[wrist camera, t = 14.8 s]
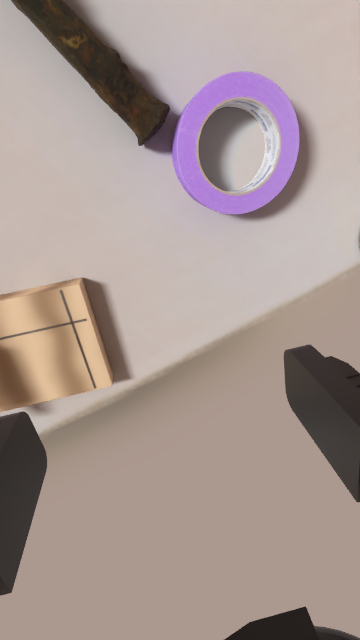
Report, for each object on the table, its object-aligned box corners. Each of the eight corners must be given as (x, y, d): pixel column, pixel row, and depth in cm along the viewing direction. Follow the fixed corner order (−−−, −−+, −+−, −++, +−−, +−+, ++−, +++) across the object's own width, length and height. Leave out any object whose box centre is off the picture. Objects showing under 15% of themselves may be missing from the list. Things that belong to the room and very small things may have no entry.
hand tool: (170, 117, 32) (176, 107, 28) (141, 149, 32) (143, 144, 28) (-7, -96, 25) (-35, -153, 21) (-38, -49, 25) (-72, -95, 21)
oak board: (82, 277, 36) (78, 284, 34) (113, 374, 42) (112, 385, 39) (-103, 317, 35) (-119, 327, 33) (-46, 411, 41) (-57, 425, 38)
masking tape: (263, 220, 37) (277, 225, 34) (162, 198, 35) (165, 201, 31) (298, 100, 33) (318, 91, 29) (185, 66, 30) (192, 52, 27)
